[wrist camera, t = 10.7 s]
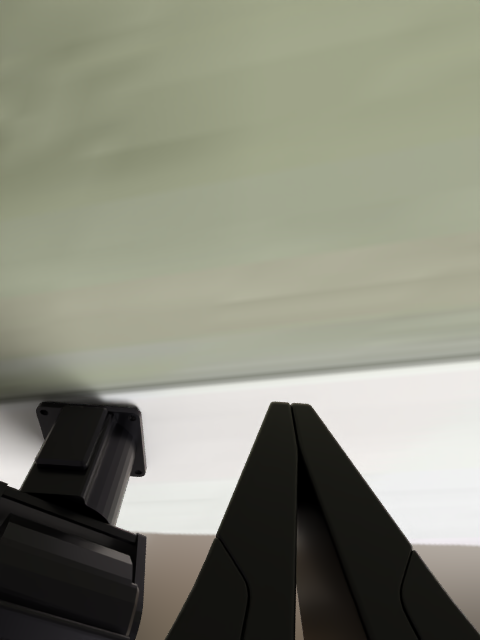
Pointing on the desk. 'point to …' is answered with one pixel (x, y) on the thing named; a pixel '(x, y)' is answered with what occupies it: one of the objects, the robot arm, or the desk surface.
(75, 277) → the desk surface
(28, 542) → the robot arm
